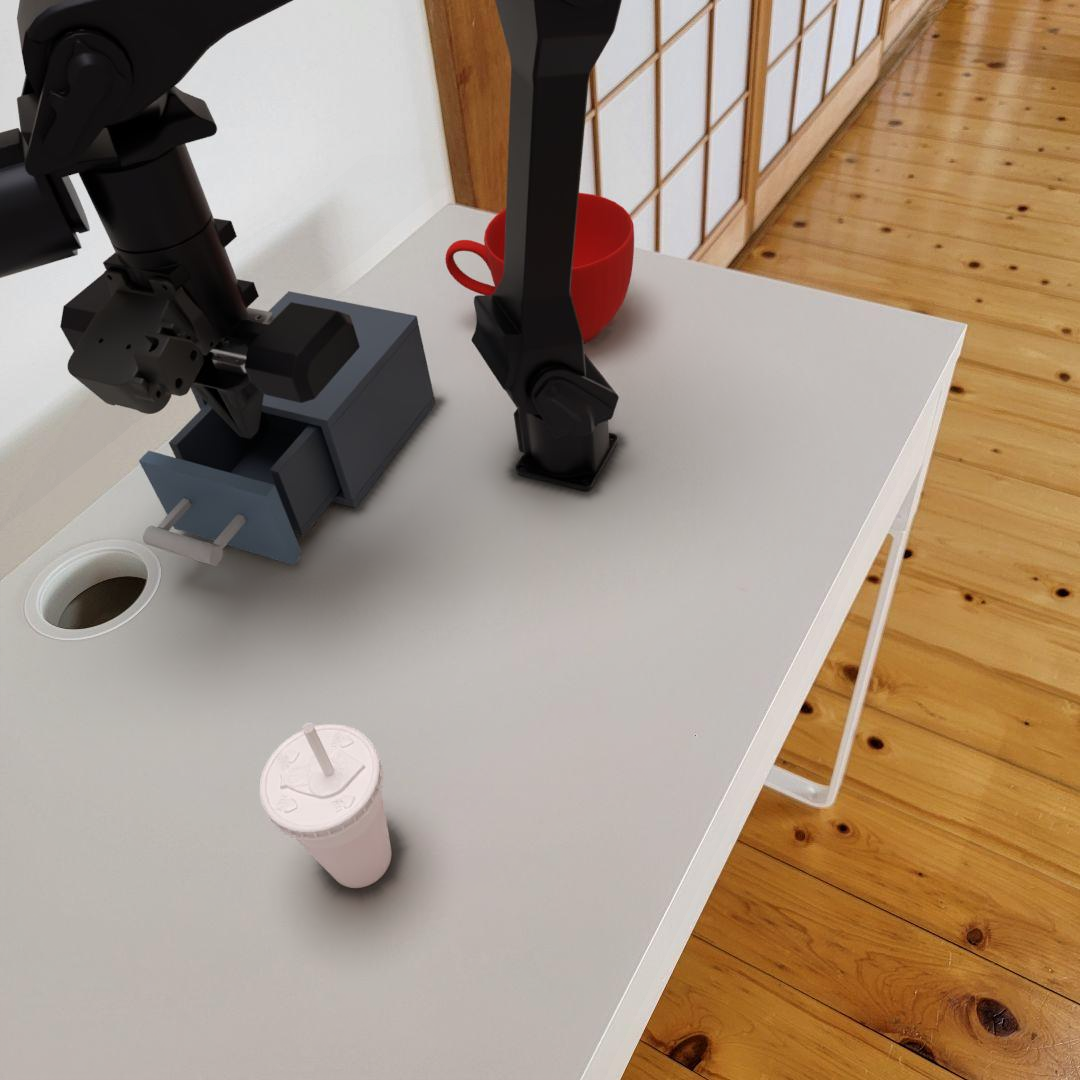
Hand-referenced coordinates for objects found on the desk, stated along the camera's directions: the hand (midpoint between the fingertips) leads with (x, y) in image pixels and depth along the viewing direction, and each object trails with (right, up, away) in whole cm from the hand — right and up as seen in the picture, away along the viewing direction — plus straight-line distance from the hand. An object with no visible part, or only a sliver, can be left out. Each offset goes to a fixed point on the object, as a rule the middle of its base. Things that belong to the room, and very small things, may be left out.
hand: (250, 434), depth 67 cm
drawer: (-2, -5, +11) cm, 12 cm away
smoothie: (+9, -26, -8) cm, 29 cm away
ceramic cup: (+20, +13, +26) cm, 35 cm away
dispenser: (+2, +2, +18) cm, 18 cm away
